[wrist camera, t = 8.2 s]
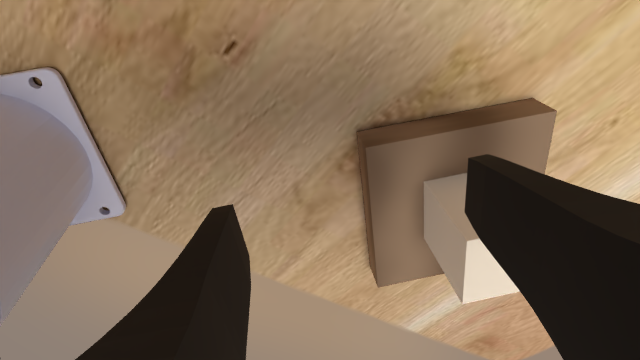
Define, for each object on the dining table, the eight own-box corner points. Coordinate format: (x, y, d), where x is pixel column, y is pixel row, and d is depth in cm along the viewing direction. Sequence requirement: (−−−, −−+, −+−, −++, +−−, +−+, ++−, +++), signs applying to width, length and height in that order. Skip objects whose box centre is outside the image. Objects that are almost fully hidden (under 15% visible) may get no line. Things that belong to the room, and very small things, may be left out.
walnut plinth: (369, 265, 26) (377, 287, 24) (356, 131, 21) (365, 147, 19) (511, 236, 27) (528, 255, 25) (532, 98, 21) (556, 110, 20)
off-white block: (423, 238, 23) (462, 304, 19) (423, 181, 21) (467, 241, 16) (488, 224, 23) (541, 286, 19) (495, 166, 21) (556, 222, 17)
